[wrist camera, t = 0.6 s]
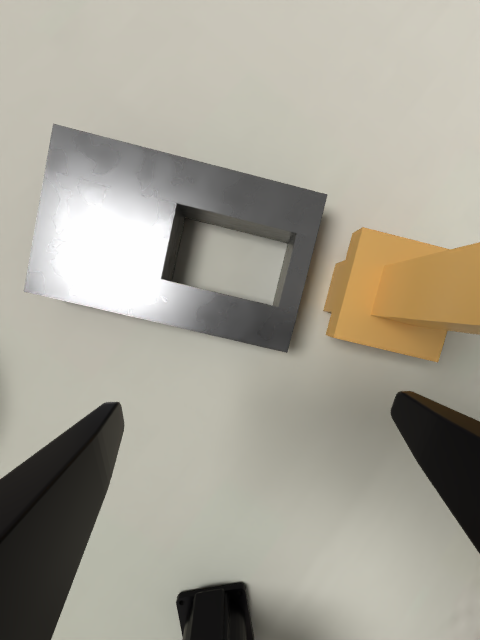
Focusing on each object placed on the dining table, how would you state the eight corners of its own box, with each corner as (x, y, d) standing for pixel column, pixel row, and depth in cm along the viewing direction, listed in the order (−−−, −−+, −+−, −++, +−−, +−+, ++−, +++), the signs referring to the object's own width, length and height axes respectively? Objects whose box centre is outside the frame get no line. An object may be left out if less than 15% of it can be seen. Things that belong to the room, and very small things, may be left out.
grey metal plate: (280, 345, 21) (287, 352, 18) (54, 292, 21) (23, 291, 18) (314, 210, 21) (327, 194, 18) (80, 150, 20) (53, 123, 17)
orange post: (400, 351, 22) (644, 423, 9) (315, 331, 21) (437, 375, 8) (425, 263, 21) (725, 202, 8) (338, 241, 21) (506, 142, 8)
